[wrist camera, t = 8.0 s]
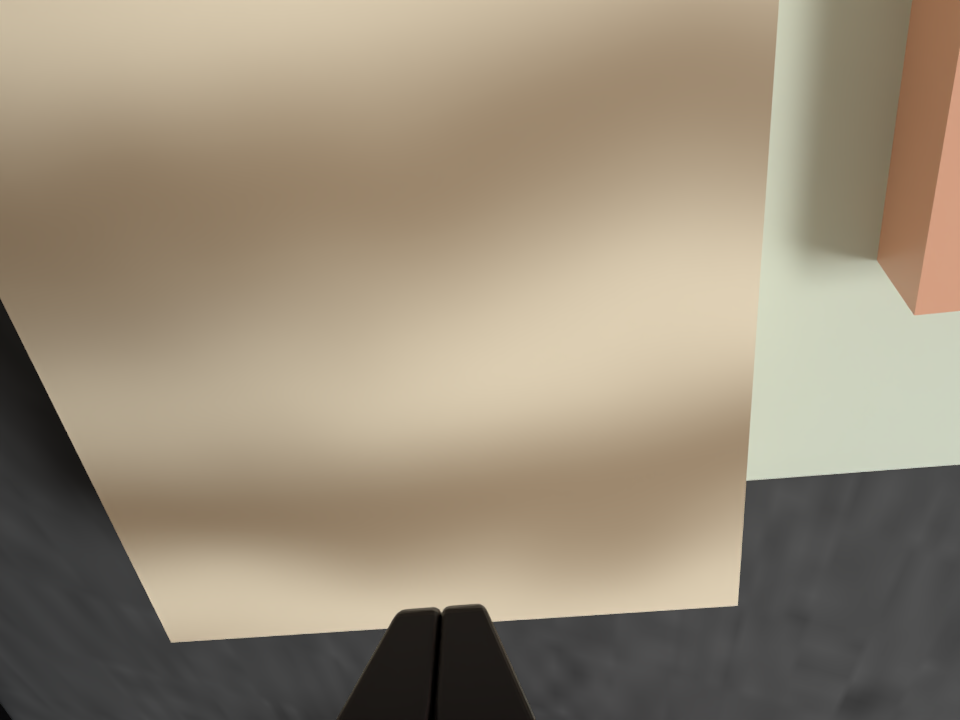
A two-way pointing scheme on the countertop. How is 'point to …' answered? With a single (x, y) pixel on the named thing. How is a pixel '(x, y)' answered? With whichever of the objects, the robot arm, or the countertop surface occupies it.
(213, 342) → the soap dish
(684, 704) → the countertop surface
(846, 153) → the mat
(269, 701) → the countertop surface
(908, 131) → the tile
